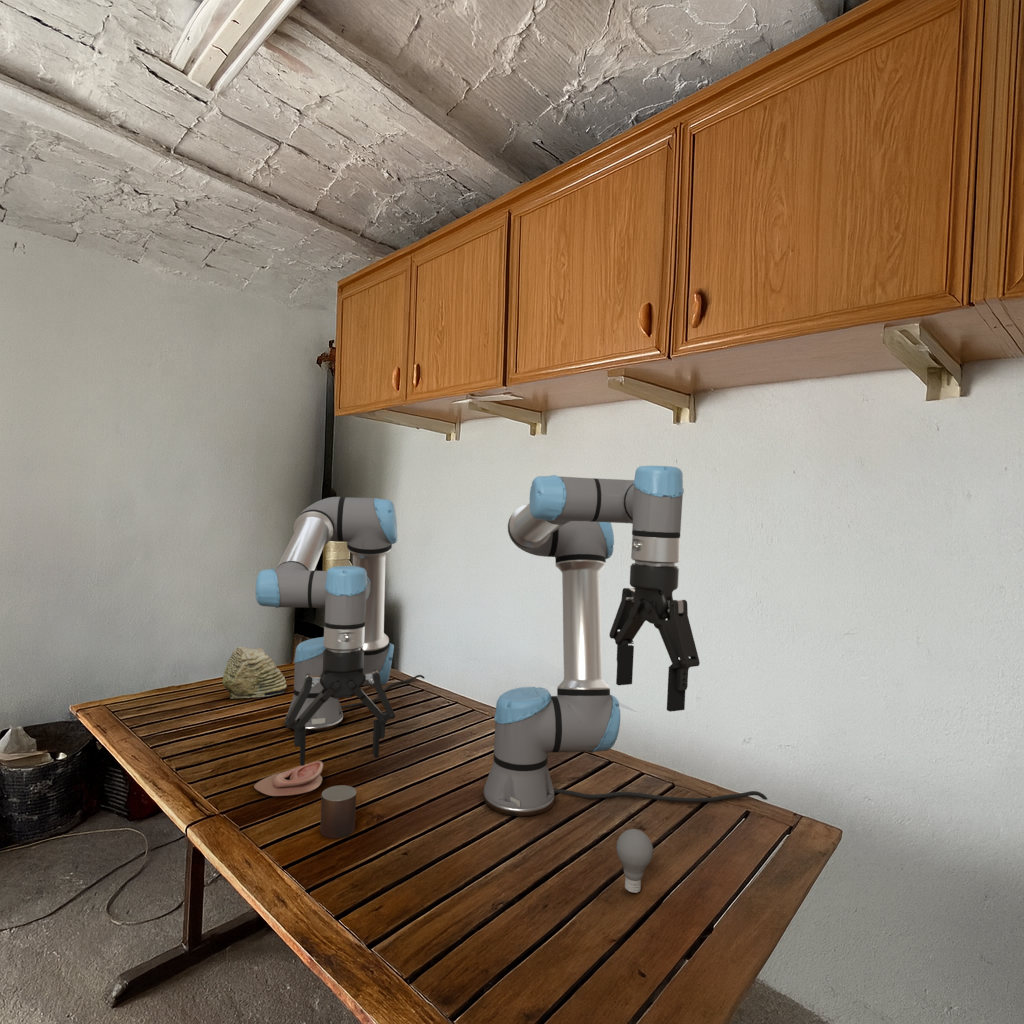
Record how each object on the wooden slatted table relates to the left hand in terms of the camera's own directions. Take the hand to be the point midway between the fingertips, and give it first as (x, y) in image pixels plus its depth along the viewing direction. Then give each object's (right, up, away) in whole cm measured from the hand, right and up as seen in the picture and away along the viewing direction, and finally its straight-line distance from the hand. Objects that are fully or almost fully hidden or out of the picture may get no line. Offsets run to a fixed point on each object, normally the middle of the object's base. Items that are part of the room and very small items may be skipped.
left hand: (339, 759), depth 121 cm
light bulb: (+53, -16, -15) cm, 58 cm away
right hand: (+55, +18, -20) cm, 61 cm away
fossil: (-48, -10, +77) cm, 91 cm away
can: (0, -14, 0) cm, 14 cm away
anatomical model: (-16, -13, +17) cm, 27 cm away
